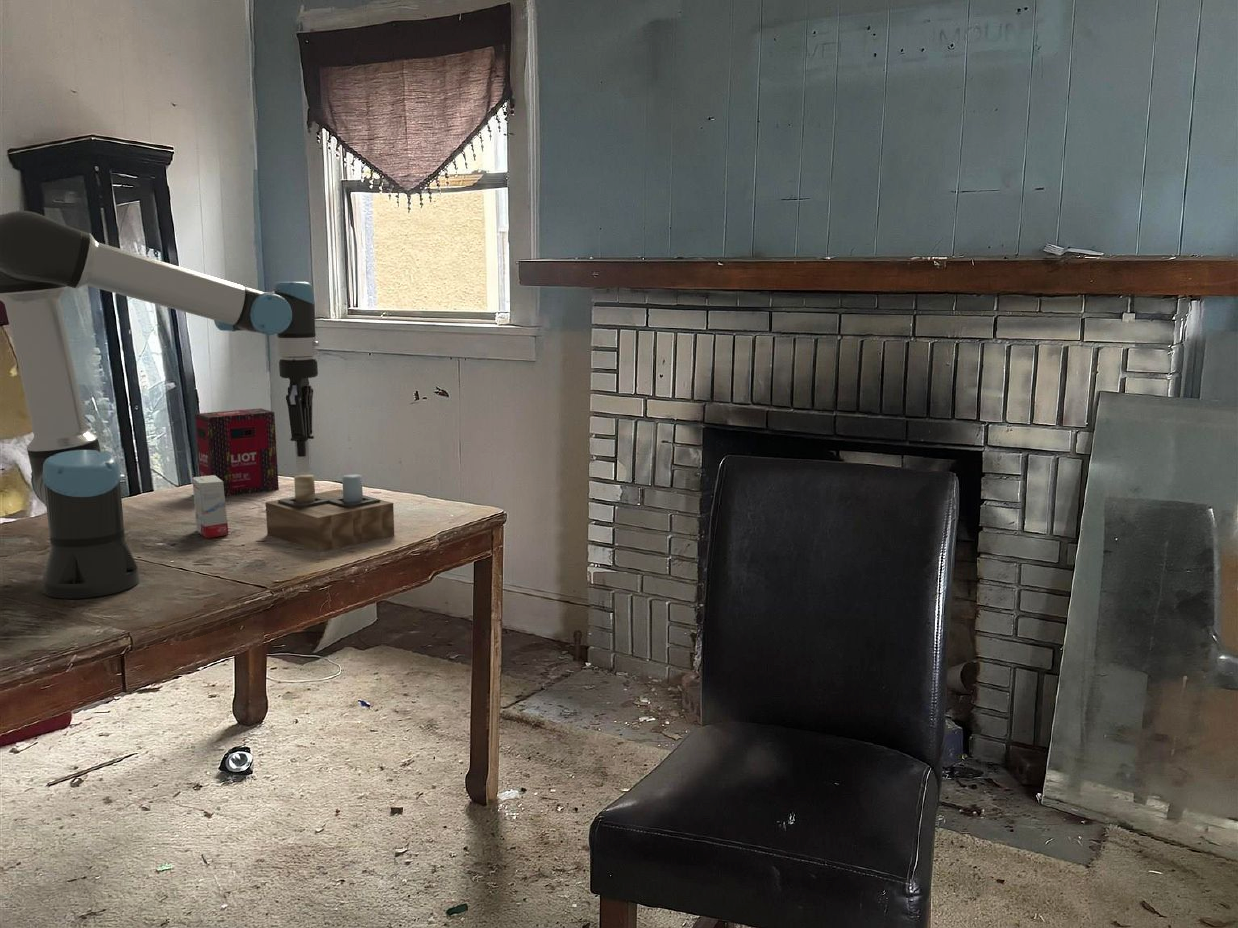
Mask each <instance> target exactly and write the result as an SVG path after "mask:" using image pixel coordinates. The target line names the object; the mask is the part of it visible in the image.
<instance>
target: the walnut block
mask: <svg viewBox="0 0 1238 928" xmlns="http://www.w3.org/2000/svg"><path fill="white" fill-rule="evenodd" d="M394 510H395V509H394V502H392V501H391V502H390V501H387V500H382V499H380V498H375V497H372V496H368V495H366V494H365V495H364V494H363V501H360V502H355V503H346V502H343V489H340V488H338V489H333V490H328V491H327V490H326V491H321V492H315V501H313V502H308V503H302V504H300V503H297V502H296V501H295V496H293V497H289V498H288V497H287V498H281V499H276V500H270V501H265V513H266V514H265V515H266V531H267V535H268V536H271V537H274V538H278V539H280V540H283V541H286V542H289V543H291V544H295V545H298V546H301V547H303V548H306V549H309V550H313V551H315V552H318V553H321V552H326V551H329V550H335V549H339V548H342V547H348V546H352V545H357V544H361V543H365V542H369V541H374V540H380V539H382V538H387V537H393V536H395V515H394Z"/></svg>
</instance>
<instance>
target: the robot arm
mask: <svg viewBox="0 0 1238 928" xmlns="http://www.w3.org/2000/svg"><path fill="white" fill-rule="evenodd" d="M83 286H87V287H92V288H95V289H97V290H103V291H106V292H110V293H114V294H117V295H121V296H124V297H128V298H131V299H136V300H140V301H144V302H146V303H150V304H154V305H158V306H161V307H166V308H169V309H173V310H176V311H180V312H182V313H183V312H184V313H188V314H190V315H194V316H198V317H201V318H205V319H210V320H213V322H214V325H215V327H216V328H217V329H218V330H219V331H223V332H224V331H228V332H237V331H240V332H241V331H246V332H253V333H259V334H263V335H267V336H273V335H276V336H277V356H278V357H279V358H281V359H279V361H278V371H279V377H281V378H283V379H288V380H289V386H288V387H287V394H286V395H285V401H286V405H287V410H288V417H289V426H290V433H291V436H290V437H291V438H289V439H290V442H294V447H295V448H294V450H295V465H296V466H295V467H296V472H297V473H298V472H299V473H300V472H311V471H312V455H311V454H312V453H311V452H312V451H311V440H314V438H315V435H312V434H313V397H314V389H313V388H312V385H310V380H309V379H312V378H316V377H317V376H318V375H319V370H318V360H317V358H314V357H316V356H317V354H318V353H317V347H319V346H320V343H319V341H316V340H317V337H316V336H317V334H316V333H317V332H316V311H315V309H316V308H315V307H316V303H315V296H314V295H315V294H314V288H313V285H312V284H311V283H310V282H308V281H277V282H275V283H274V289H273V291H261V290H258V289H254V288H251V287H247V286H243V285H241V284H237V283H235V282H231V281H228V280H225V279H221V278H218V277H216V276H215V277H214V276H211V275H207V274H205V273H201V272H198V271H195V270H191V269H189V268H184V267H181V266H179V265H174V264H171V263H168V262H165V261H162V260H158V259H155V258H152V257H148V256H144V255H141V254H138V253H135V252H131V251H128V250H126V249H122V248H118V247H115V246H112V245H108V244H105V243H102V242H98V241H97V240H96V239H95V238H94V236H93V235H92V233H89V232H86V231H84V230H79V229H76V228H74V227H71V226H68V225H66V224H63V223H60V222H59V221H56V220H54V219H51V218H50V217H47V216H45V215H43V214H39V213H37V212H33V211H29V210H16V211H15V210H14V211H11V212H7V213H2V214H0V301H1V302H2V303H3V304H4V308H5V311H6V316H7V320H8V325H9V329H10V333H11V338H12V343H13V347H14V352H15V356H16V360H17V361H16V362H17V366H18V371H19V374H20V379H21V384H22V388H23V393H24V398H25V403H26V406H27V411H28V415H29V420H30V424H31V425H30V426H31V429H32V433H33V438H32V439H31V441H30V442H29V443H28V445H27V446H26V450H27V451H26V452H27V455H28V459H29V464H30V470H31V473H30V475H31V476H30V477H31V478H30V484H31V487H32V490H33V493H34V494H35V496H36V498H38V500H39V501H40V502H41V503H42V504H44V506H45V507H46V515H47V524H48V534H49V543H50V546H49V548H50V549H49V553H48V557H47V560H46V564H45V568H44V571H43V572H44V573H43V574H42V575H43V577H42V591H43V594H44V595H46V596H48V597H51V598H56V599H64V600H65V599H87V598H89V599H90V598H96V597H102V596H103V597H104V596H108V595H113V594H117V593H120V592H123V591H126V590H129V589H131V588H133V587H135V586H136V585H137V584H139V582H140V572H139V571H140V570H139V567H138V564H137V562H136V560H135V559H134V556H133V554H132V552H131V549H130V547H129V546H128V543H127V540H126V535H125V521H124V512H123V502H122V487H121V477H122V475H121V474H122V473H121V470H120V467H119V462H118V460H117V458H116V457H115V456H114V455H113V454H111V453H108V452H106V451H101V446H100V441H99V436H98V435H97V434H94V433H93V432H91V431H90V430H89V429H88V428H87V424H86V419H85V415H84V410H83V405H82V400H81V395H80V391H79V386H78V385H79V384H78V381H77V376H76V370H75V367H74V366H75V365H74V362H73V356H72V353H71V347H70V343H69V337H68V333H67V328H66V322H65V318H64V313H63V308H62V303H61V298H62V296H63V295H64V293H65V292H66V291H67V289H68V287H69V288H72V289H79V288H82V287H83Z"/></svg>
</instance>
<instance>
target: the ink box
mask: <svg viewBox="0 0 1238 928" xmlns="http://www.w3.org/2000/svg"><path fill="white" fill-rule="evenodd" d="M191 480H192V489H193V490H192V493H193V502H194V503H193V505H194V514H195V516H194V517H195V523H196V524H195V525H196V526H195V527H196V531H197V532H198V533H199V534H200V535H202V536H203V537H204V538H206V539H210V538H216V537H222V536H228V535H229V533H230V532H229V526H228V515H227V509H226V508H227V507H226V499H225V498H226V497H225V496H224V486H223V481H222V480H220V479H219V478H218V477H217V476H215V475H211V476H201V477H200V476H194V477H192V479H191Z"/></svg>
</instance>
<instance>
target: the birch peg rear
mask: <svg viewBox="0 0 1238 928" xmlns="http://www.w3.org/2000/svg"><path fill="white" fill-rule="evenodd" d="M293 479H294V480H293V481H294V497H295V501H296V502H297V503H300V504H302V503H308V502H313V501H315V493H316V486H315V475H313V474H299V475H295V476H294V478H293Z"/></svg>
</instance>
